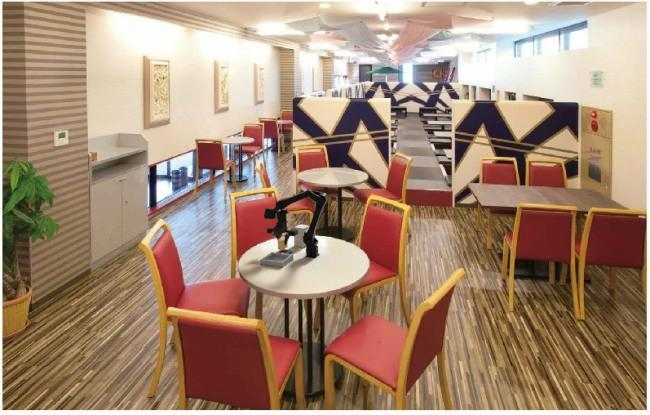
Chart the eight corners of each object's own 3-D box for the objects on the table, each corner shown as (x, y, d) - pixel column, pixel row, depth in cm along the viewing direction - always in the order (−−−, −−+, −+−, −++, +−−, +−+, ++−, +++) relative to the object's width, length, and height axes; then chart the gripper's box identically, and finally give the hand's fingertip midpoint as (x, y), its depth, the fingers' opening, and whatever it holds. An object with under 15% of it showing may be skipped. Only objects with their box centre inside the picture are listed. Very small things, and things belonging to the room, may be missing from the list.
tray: (293, 259, 304) (293, 254, 304) (282, 267, 292) (282, 262, 291) (272, 256, 309) (271, 252, 309) (260, 264, 297) (260, 259, 296)
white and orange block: (287, 246, 315) (287, 237, 314) (283, 250, 310) (282, 240, 308) (282, 246, 317) (282, 236, 315) (278, 249, 311) (277, 239, 310)
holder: (292, 252, 317) (292, 250, 317) (285, 257, 308) (285, 255, 308) (281, 250, 320) (281, 248, 320) (273, 255, 311) (273, 253, 311)
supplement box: (302, 247, 325) (302, 228, 322) (293, 245, 329) (293, 226, 326) (310, 244, 331) (309, 225, 327) (301, 242, 335) (300, 223, 332)
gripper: (261, 222, 305) (262, 247, 309) (290, 225, 298) (291, 250, 302) (270, 217, 315) (271, 241, 319) (298, 220, 308) (298, 245, 312)
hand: (282, 244), depth 313 cm, fingers closed on white and orange block, 3 cm apart
